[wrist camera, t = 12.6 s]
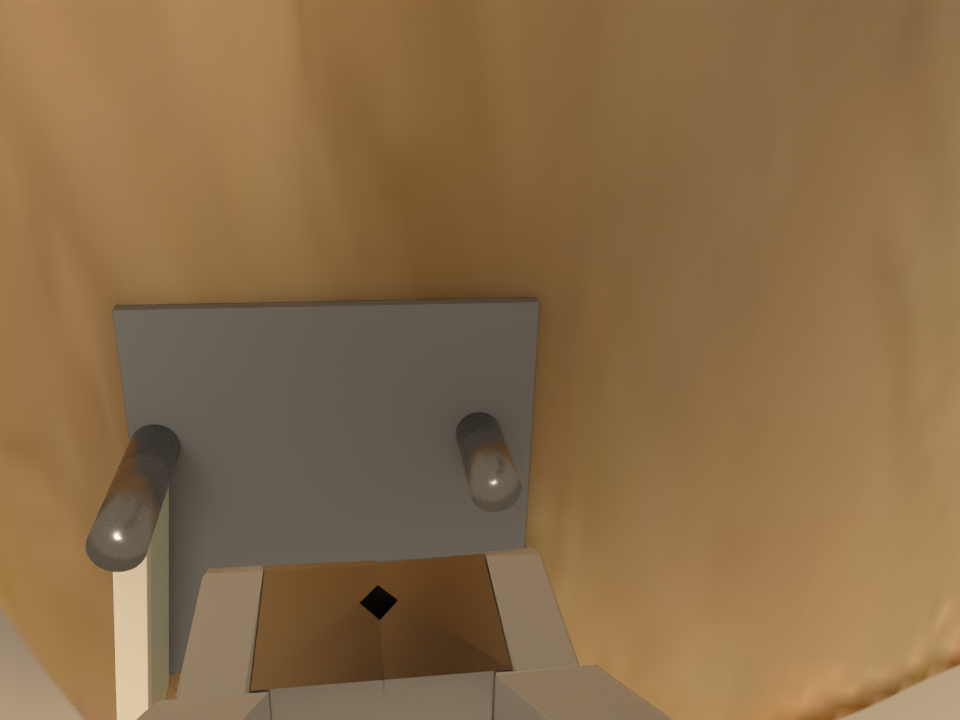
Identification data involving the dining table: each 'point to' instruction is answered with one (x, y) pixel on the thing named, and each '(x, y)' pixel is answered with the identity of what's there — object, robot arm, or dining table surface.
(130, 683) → the cream plank
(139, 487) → the posts
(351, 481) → the yard mat
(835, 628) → the dining table surface
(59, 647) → the dining table surface
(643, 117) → the dining table surface
